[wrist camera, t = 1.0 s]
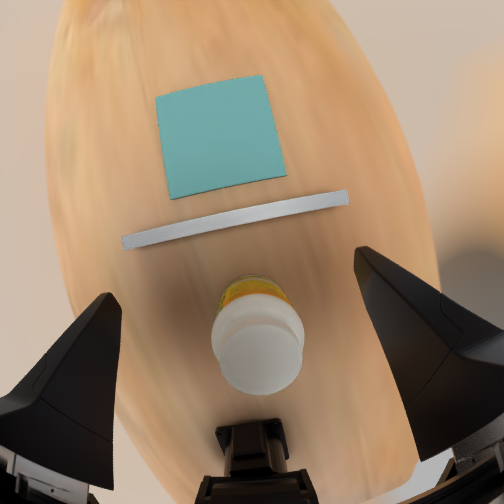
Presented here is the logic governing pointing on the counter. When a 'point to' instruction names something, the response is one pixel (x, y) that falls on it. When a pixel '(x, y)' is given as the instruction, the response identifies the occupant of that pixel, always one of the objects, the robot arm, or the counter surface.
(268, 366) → the supplement bottle
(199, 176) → the teal mat
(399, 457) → the counter surface
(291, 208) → the low wall
